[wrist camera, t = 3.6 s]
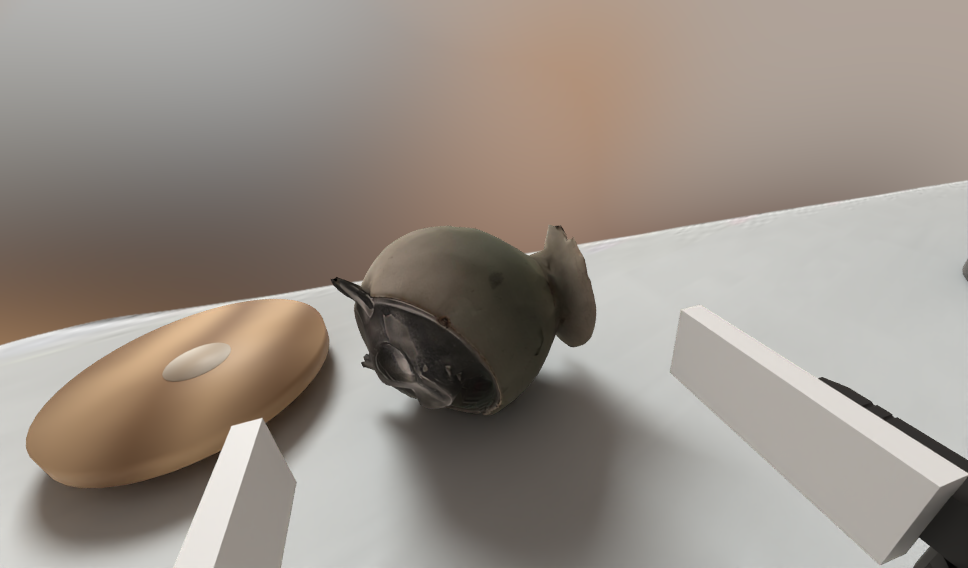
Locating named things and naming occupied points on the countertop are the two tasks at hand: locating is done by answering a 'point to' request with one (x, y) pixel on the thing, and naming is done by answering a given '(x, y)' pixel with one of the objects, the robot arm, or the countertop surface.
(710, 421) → the countertop surface
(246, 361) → the lazy susan
